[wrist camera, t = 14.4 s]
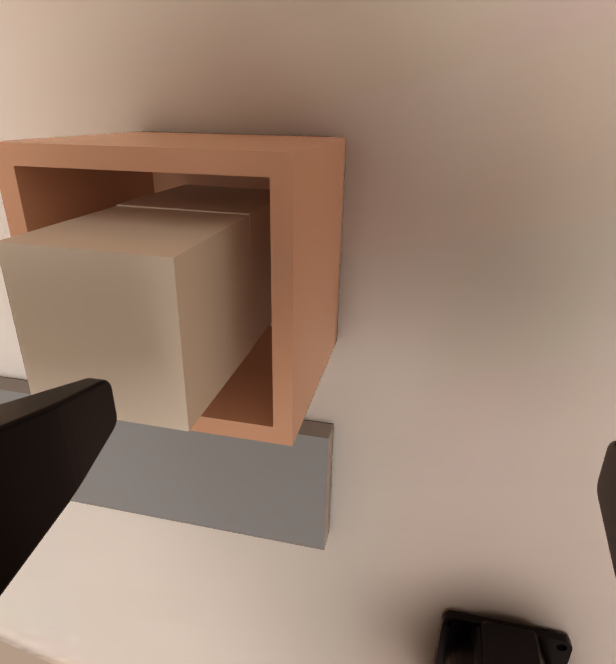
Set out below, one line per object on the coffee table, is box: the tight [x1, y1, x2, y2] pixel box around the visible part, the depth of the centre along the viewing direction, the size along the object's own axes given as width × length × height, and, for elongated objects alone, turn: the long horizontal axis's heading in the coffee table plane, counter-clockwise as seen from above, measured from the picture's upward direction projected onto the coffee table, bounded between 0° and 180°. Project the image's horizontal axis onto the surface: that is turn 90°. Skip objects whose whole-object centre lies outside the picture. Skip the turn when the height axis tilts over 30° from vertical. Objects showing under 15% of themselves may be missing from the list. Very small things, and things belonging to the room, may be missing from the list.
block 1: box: [0, 206, 253, 431], centre depth 14 cm, size 4×4×5 cm
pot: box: [0, 132, 346, 446], centre depth 18 cm, size 8×8×8 cm
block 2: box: [116, 184, 272, 346], centre depth 19 cm, size 4×4×5 cm
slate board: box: [0, 377, 333, 550], centre depth 27 cm, size 7×20×1 cm, turn 89°
